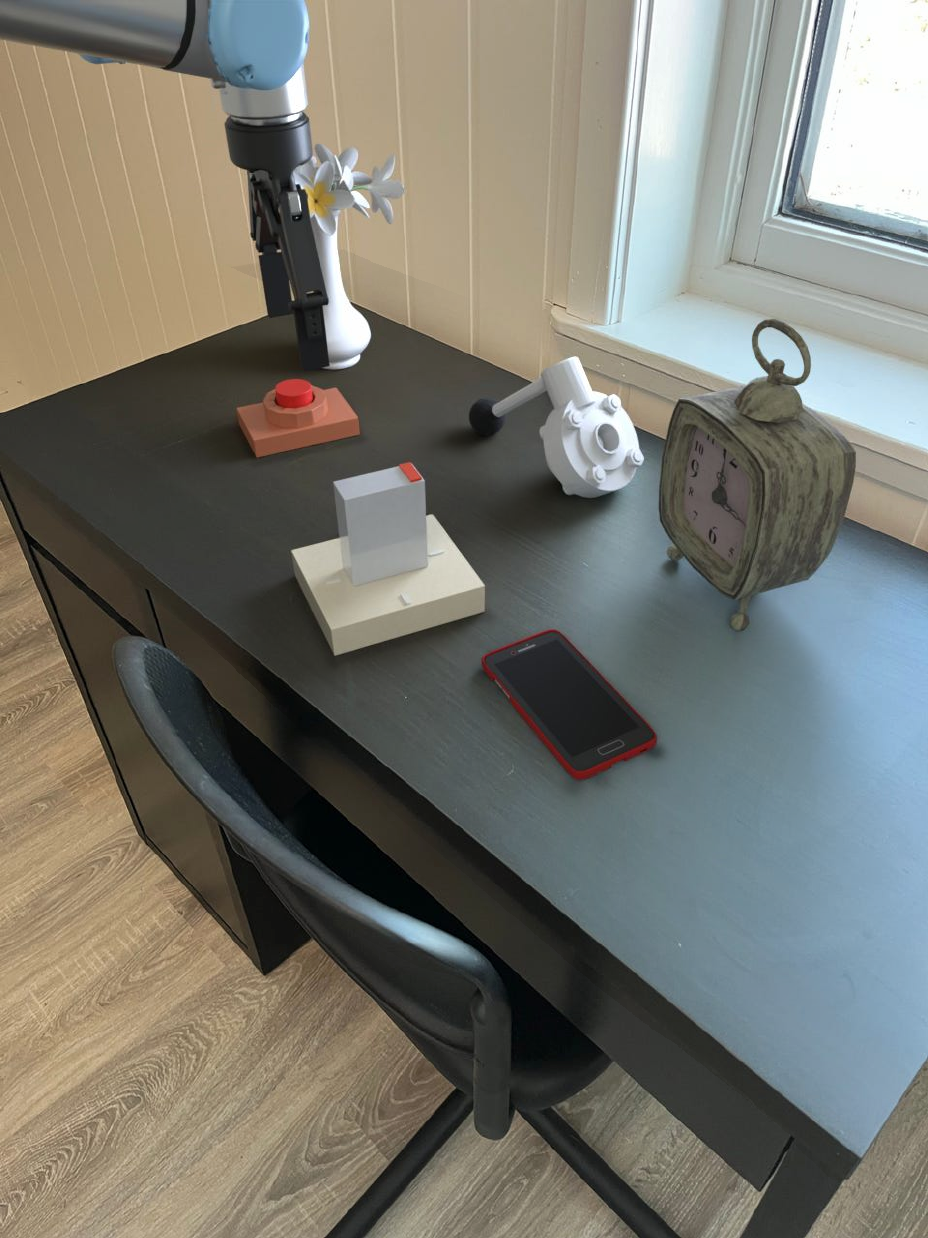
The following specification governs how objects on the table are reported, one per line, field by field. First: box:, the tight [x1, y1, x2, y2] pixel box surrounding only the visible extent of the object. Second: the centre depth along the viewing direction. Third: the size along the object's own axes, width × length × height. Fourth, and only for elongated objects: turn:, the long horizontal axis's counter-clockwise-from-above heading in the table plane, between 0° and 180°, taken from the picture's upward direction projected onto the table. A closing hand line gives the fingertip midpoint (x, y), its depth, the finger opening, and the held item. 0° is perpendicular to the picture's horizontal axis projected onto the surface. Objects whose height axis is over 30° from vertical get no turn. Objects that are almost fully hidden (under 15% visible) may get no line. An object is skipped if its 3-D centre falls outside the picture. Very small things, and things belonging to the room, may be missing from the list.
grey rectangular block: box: [332, 461, 428, 586], centre depth 81 cm, size 7×3×9 cm, turn 114°
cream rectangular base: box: [290, 513, 486, 657], centre depth 85 cm, size 14×12×3 cm
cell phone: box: [481, 628, 658, 781], centre depth 75 cm, size 8×15×1 cm, turn 29°
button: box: [274, 378, 313, 408], centre depth 106 cm, size 4×4×2 cm
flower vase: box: [293, 143, 405, 370], centre depth 114 cm, size 13×18×25 cm
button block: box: [236, 384, 361, 458], centre depth 107 cm, size 12×8×4 cm, turn 114°
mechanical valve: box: [468, 356, 645, 499], centre depth 101 cm, size 10×18×15 cm
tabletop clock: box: [658, 318, 857, 632], centre depth 78 cm, size 14×9×25 cm, turn 21°
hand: (297, 339), depth 98 cm, fingers open, 13 cm apart
